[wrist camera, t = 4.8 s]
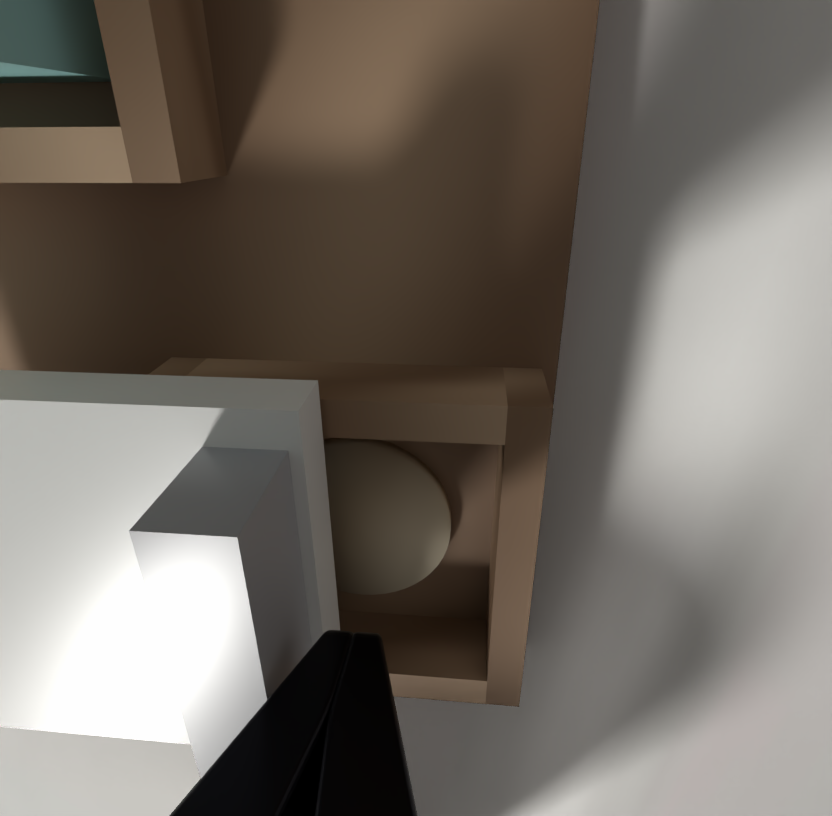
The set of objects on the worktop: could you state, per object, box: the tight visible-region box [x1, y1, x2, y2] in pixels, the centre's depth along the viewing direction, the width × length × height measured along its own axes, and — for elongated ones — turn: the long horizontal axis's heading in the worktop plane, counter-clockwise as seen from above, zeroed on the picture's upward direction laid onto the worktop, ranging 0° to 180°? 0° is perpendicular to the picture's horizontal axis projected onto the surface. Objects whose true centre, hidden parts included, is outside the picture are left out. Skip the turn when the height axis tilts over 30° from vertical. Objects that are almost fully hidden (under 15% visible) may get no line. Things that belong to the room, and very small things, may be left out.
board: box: [0, 0, 600, 707], centre depth 9 cm, size 12×18×2 cm, turn 1°
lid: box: [0, 370, 340, 779], centre depth 9 cm, size 7×7×3 cm
